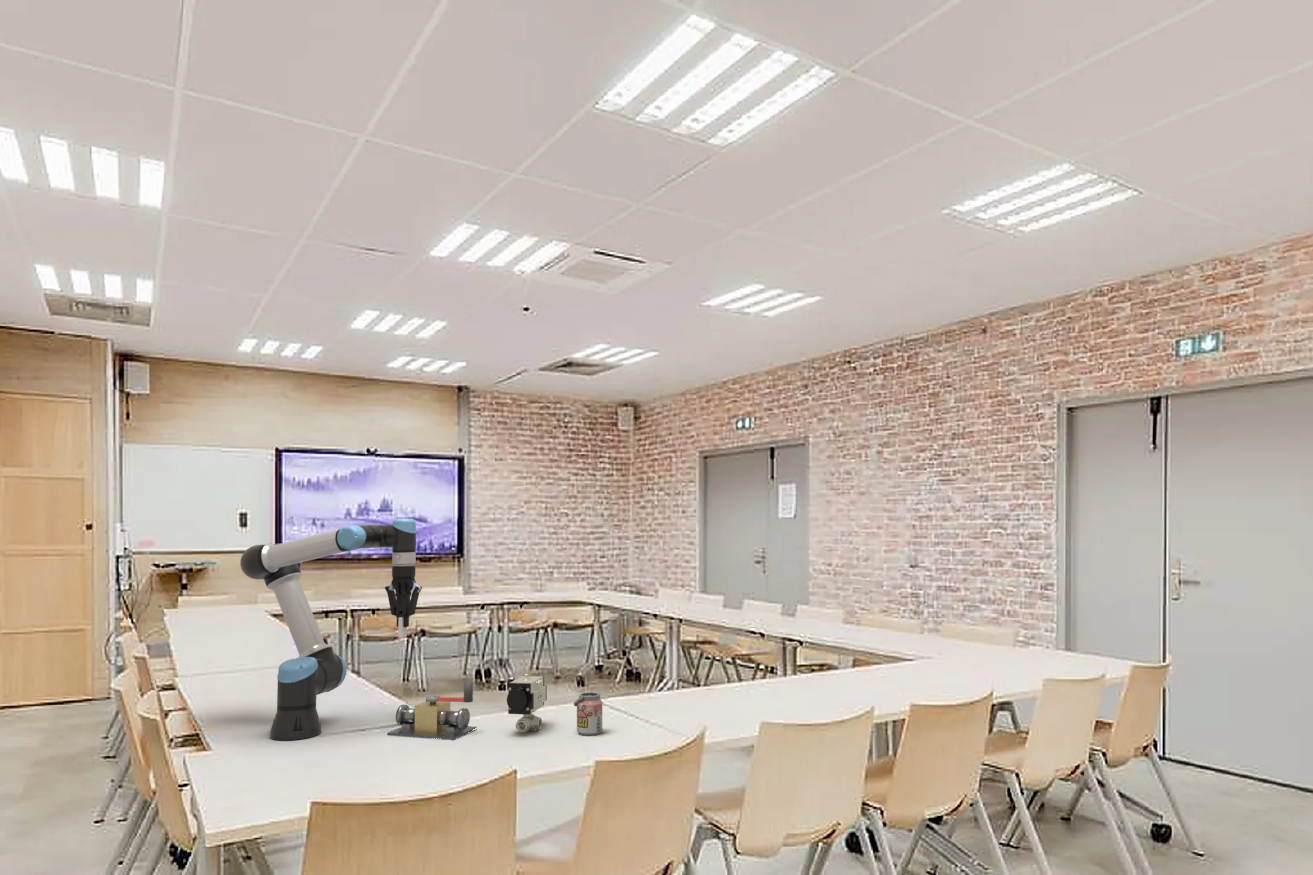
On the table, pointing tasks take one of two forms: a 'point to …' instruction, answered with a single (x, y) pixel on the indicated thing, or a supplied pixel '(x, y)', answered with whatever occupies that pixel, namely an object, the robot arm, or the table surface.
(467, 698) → the lever
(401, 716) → the valve assembly
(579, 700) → the beverage can
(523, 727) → the ball valve
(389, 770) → the table surface
